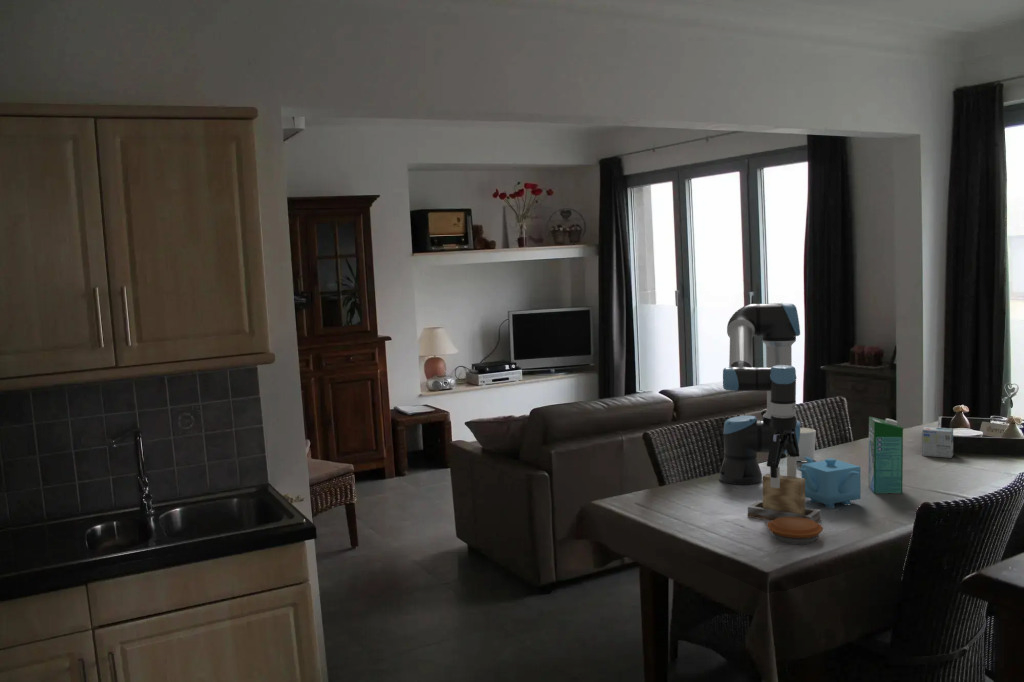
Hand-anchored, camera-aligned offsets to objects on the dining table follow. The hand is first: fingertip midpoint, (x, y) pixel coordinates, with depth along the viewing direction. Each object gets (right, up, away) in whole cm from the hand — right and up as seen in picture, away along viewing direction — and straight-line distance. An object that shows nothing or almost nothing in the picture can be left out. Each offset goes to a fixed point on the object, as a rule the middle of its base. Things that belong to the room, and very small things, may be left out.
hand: (783, 482), depth 264 cm
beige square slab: (0, -10, +1) cm, 10 cm away
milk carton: (+44, -7, +27) cm, 52 cm away
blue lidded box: (+19, -10, +15) cm, 26 cm away
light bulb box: (+85, -2, +72) cm, 111 cm away
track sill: (0, -11, +1) cm, 11 cm away
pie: (-2, -14, -18) cm, 23 cm away
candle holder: (+31, -3, +72) cm, 79 cm away
